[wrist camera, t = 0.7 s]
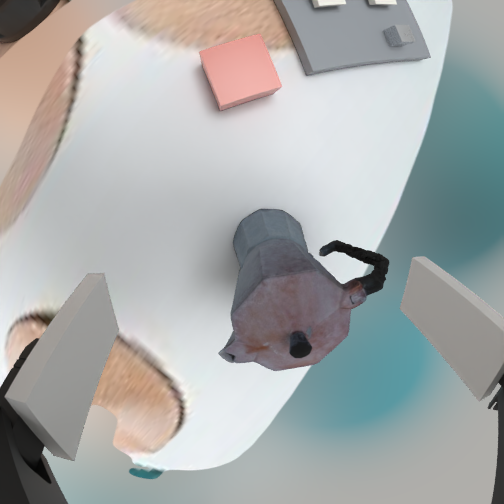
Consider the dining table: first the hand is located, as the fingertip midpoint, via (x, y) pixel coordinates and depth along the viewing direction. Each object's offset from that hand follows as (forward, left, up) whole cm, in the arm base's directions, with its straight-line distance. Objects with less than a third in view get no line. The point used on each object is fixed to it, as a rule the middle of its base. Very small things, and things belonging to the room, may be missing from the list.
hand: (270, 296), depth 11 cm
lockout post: (-14, +26, -22) cm, 36 cm away
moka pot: (+7, +2, -24) cm, 25 cm away
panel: (-19, +22, -24) cm, 38 cm away
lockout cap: (-13, +5, -24) cm, 28 cm away
